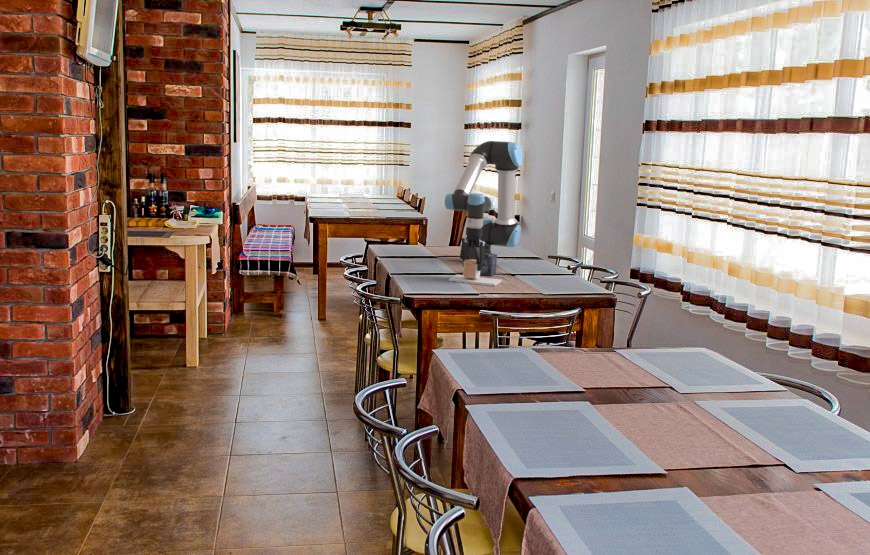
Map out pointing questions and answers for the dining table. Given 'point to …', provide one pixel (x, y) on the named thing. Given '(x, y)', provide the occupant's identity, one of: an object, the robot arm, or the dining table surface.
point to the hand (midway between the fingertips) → (471, 276)
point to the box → (489, 265)
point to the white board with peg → (476, 280)
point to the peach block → (469, 268)
